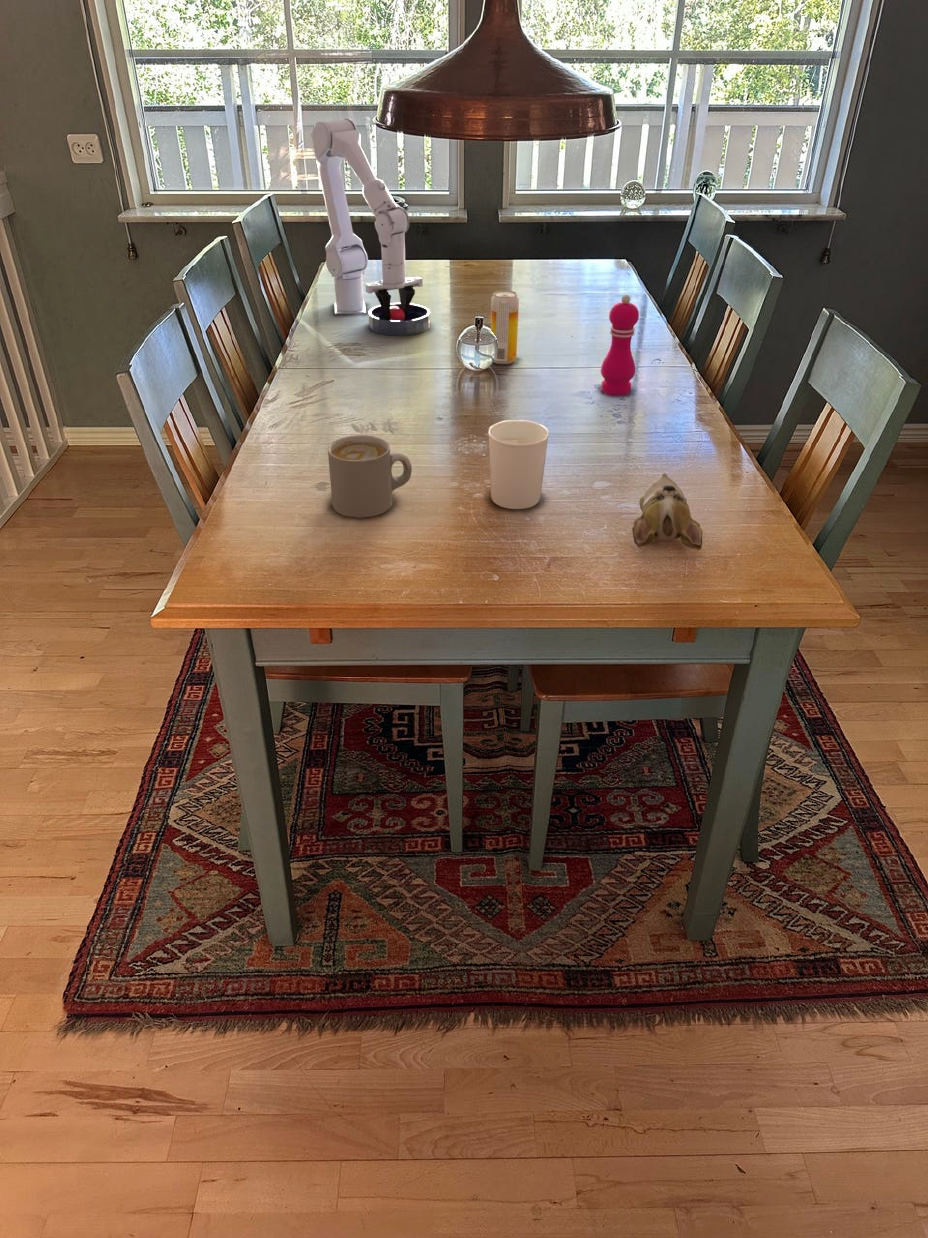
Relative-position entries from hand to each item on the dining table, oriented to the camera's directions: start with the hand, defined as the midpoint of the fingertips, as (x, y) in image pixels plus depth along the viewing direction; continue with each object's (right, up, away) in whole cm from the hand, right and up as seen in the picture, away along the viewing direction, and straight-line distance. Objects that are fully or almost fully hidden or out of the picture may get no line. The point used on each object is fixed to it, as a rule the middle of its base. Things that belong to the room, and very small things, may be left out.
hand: (395, 318), depth 226 cm
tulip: (+1, -2, -1) cm, 3 cm away
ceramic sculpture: (+49, -63, -84) cm, 116 cm away
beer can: (+26, -16, -19) cm, 37 cm away
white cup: (+26, -55, -74) cm, 96 cm away
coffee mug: (+2, -57, -76) cm, 95 cm away
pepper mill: (+50, -27, -34) cm, 66 cm away
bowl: (+1, -3, -1) cm, 3 cm away
